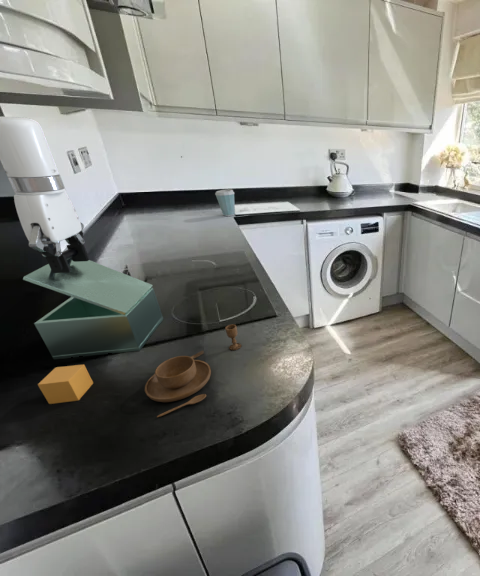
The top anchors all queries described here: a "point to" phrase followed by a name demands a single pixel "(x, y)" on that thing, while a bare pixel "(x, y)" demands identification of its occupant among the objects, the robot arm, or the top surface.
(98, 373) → the top surface
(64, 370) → the block
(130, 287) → the freezer lid
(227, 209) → the disposable coffee cup
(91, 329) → the box
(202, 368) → the place setting
